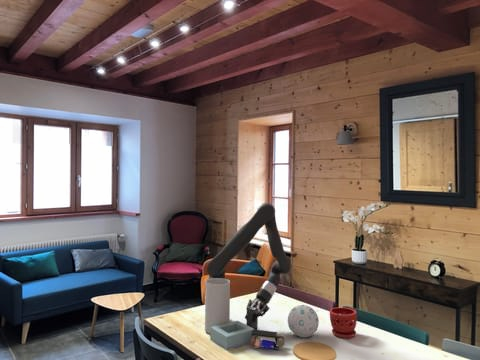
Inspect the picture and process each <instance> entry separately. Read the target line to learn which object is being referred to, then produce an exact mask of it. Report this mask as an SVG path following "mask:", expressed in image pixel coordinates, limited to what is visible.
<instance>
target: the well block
mask: <svg viewBox="0 0 480 360" xmlns="http://www.w3.org/2000/svg"><path fill="white" fill-rule="evenodd" d="M252 330H253V328H251V327H249V326H248V325H246V324H245V323H243V322H242V321H239V320H234V321H231V322H230V323H225V324H221V325H217V326H213V327H210V336H209V337H210V338H209V340H210V341H212V342H213V343H215V344H217V345H218V346H219V347H221V348H222V349H224V350H225V351H229V350H232V349H235V348H239V347H243V346H245V345H248V344H251V339H252V338H253V337H255V336H254V335H251V334H252ZM254 330H255V329H254Z"/></svg>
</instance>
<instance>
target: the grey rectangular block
mask: <svg viewBox="0 0 480 360" xmlns="http://www.w3.org/2000/svg"><path fill="white" fill-rule="evenodd" d="M246 308H247V309H246V314H247V320H246V325H248V326H249V327H251V328H253V329H255V330H259V329H258V323H259V322H258V321H259V320H258V318H259V317H258V318H257V319H256V321H255V322H254V323H253V322H252V321H251V319H252V317H253V316H254V314H255V313H256V311H257V307H254V306H251V307H247V306H246Z"/></svg>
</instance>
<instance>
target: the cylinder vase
mask: <svg viewBox="0 0 480 360" xmlns="http://www.w3.org/2000/svg"><path fill="white" fill-rule="evenodd" d="M204 289H205V290H204V293H205V294H204V296H205V297H204V301H205V302H204V303H205V304H204V330H205V333H207V334H210V327H213V326H217V325H221V324H225V323H230V320H231V319H230V317H231V316H230V313H231V312H230V311H231V310H230V309H231V308H230V307H231V305H230V302H231V301H230V300H231V281H230V280H229V279H227V278H225V279H222V278H214V279H209V278H208V279H206V280H205V287H204Z"/></svg>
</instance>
